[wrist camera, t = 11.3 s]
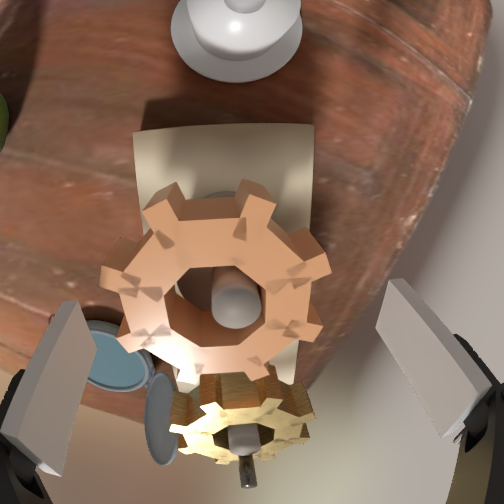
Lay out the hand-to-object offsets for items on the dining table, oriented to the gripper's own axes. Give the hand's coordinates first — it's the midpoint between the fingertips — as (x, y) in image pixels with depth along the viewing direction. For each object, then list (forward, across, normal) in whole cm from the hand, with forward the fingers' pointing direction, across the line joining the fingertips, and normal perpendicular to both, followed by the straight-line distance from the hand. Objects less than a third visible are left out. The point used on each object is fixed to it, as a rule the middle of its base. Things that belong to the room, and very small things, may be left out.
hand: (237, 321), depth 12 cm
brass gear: (+4, 0, -12) cm, 13 cm away
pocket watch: (+12, -13, -14) cm, 23 cm away
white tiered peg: (+13, +1, +14) cm, 19 cm away
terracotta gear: (+4, -1, 0) cm, 4 cm away
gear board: (+12, 0, -6) cm, 13 cm away
